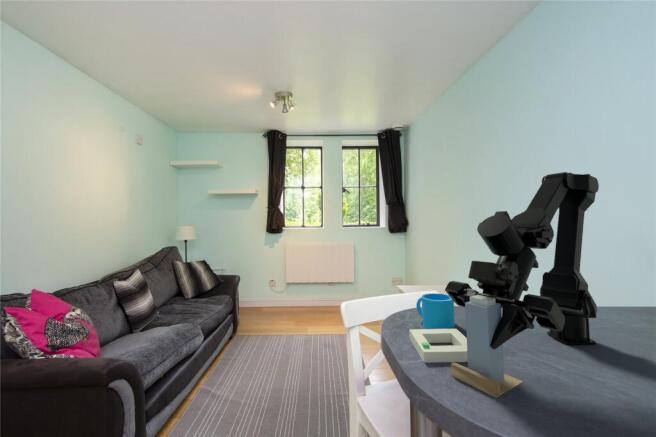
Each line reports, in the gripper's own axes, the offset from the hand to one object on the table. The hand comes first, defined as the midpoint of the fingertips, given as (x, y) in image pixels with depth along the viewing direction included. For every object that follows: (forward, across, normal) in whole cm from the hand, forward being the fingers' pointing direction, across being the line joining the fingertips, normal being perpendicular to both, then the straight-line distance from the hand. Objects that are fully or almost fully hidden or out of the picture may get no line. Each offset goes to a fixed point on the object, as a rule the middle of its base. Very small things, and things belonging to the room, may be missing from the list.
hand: (479, 343), depth 49 cm
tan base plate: (+4, 0, +6) cm, 7 cm away
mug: (-7, -24, +18) cm, 31 cm away
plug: (+4, 0, +6) cm, 7 cm away
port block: (+2, -12, +9) cm, 15 cm away
